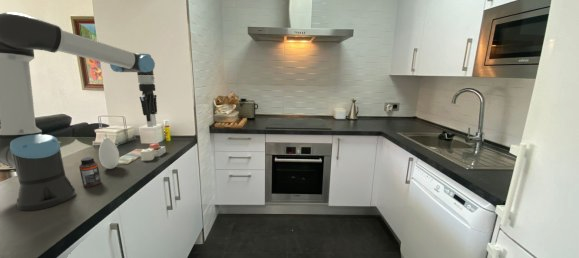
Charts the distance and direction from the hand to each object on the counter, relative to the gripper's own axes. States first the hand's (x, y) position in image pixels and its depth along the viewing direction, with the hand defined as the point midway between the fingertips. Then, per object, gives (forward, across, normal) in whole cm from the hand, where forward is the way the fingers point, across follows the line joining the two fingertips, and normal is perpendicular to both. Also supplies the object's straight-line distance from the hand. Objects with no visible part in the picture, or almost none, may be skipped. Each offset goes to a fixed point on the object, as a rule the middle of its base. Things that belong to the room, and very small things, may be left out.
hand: (152, 126), depth 137 cm
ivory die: (+17, -8, 0) cm, 18 cm away
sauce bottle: (+17, -21, +11) cm, 29 cm away
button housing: (+17, 0, 0) cm, 17 cm away
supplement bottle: (+17, -39, +7) cm, 43 cm away
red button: (+14, 0, 0) cm, 14 cm away
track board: (+17, -4, +11) cm, 20 cm away
